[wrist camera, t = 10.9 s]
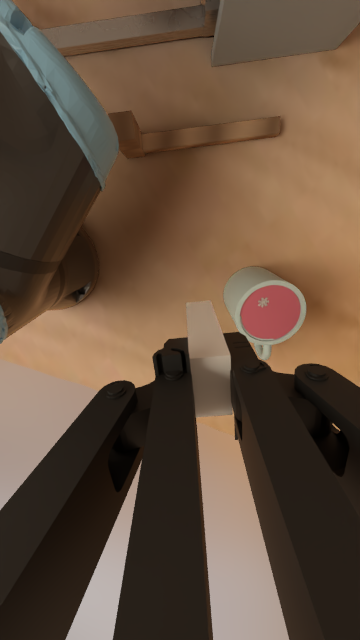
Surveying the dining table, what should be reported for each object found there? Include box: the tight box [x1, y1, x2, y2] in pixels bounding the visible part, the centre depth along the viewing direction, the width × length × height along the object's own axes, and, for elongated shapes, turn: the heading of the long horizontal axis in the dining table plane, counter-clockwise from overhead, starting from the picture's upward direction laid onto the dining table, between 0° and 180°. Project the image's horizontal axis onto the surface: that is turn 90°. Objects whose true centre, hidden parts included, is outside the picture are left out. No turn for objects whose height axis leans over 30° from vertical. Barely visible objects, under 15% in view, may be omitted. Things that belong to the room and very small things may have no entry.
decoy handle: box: [108, 111, 280, 158], centre depth 30 cm, size 20×2×8 cm, turn 96°
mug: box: [223, 266, 306, 360], centre depth 38 cm, size 14×9×10 cm
